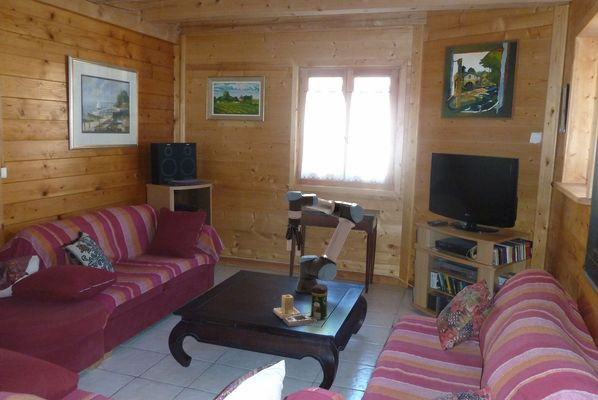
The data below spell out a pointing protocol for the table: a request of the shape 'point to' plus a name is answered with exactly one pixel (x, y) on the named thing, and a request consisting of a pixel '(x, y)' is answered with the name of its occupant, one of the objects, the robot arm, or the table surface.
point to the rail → (299, 319)
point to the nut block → (287, 304)
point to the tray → (279, 314)
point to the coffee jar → (319, 301)
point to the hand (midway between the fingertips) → (293, 253)
